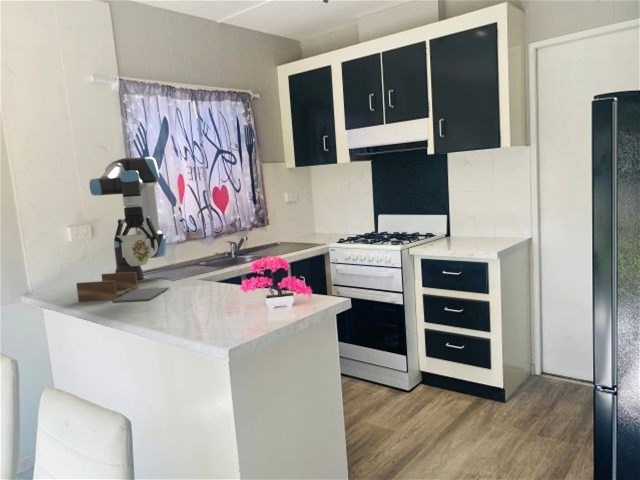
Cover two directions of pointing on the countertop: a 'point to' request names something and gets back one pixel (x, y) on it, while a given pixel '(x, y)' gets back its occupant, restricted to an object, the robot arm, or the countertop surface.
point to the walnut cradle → (107, 287)
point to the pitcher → (136, 249)
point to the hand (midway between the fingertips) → (138, 256)
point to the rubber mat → (141, 295)
